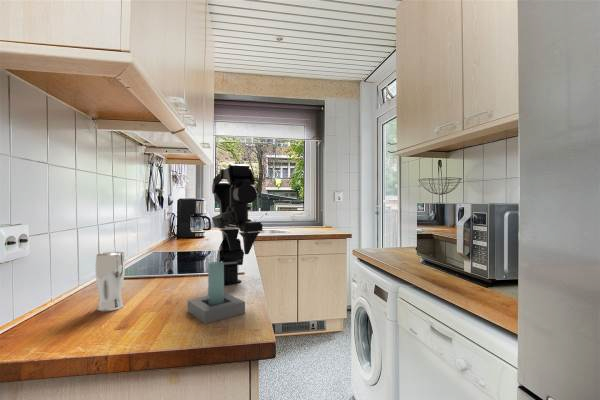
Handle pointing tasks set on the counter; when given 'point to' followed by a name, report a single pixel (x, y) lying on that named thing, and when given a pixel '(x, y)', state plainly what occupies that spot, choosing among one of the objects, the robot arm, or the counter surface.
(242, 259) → the robot arm
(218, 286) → the peg
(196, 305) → the socket block
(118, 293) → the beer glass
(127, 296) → the counter surface
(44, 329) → the counter surface
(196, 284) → the counter surface
